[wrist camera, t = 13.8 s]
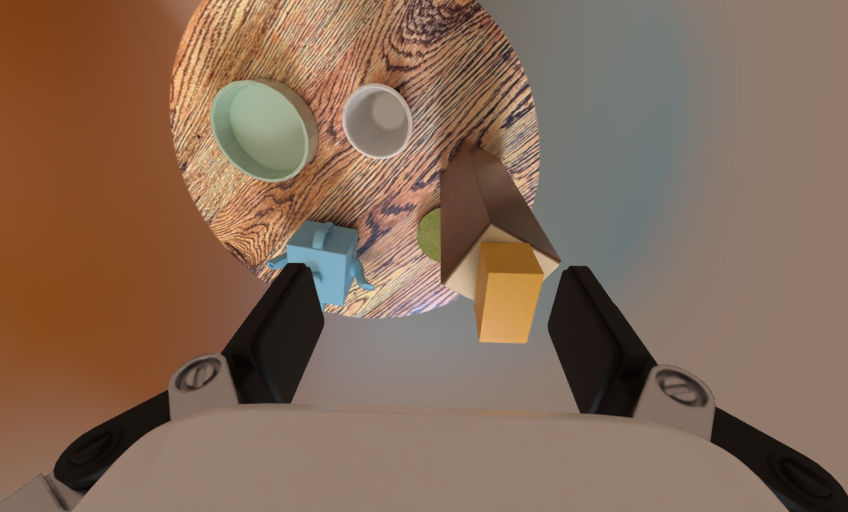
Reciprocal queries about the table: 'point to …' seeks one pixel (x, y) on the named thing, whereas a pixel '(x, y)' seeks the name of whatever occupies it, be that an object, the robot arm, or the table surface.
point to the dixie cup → (377, 121)
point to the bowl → (264, 129)
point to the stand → (483, 218)
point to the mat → (430, 235)
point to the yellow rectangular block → (506, 292)
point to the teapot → (326, 259)
